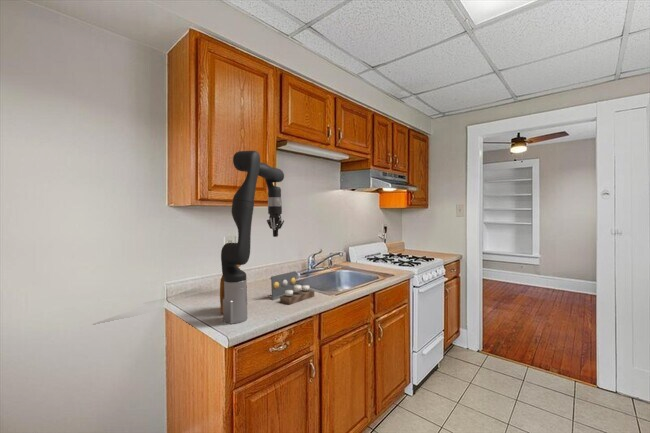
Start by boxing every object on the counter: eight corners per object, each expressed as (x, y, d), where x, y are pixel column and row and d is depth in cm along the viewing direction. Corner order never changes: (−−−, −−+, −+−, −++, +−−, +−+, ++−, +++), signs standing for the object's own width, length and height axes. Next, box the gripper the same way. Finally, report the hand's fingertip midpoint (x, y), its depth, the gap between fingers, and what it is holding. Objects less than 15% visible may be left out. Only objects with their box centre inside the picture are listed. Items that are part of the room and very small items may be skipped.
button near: (288, 296, 154) (288, 292, 153) (283, 295, 156) (283, 291, 156) (294, 294, 157) (294, 290, 156) (289, 293, 159) (289, 289, 159)
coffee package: (250, 307, 149) (249, 262, 148) (235, 316, 137) (234, 267, 136) (233, 305, 152) (232, 261, 151) (217, 314, 140) (215, 266, 140)
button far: (305, 291, 163) (305, 287, 162) (300, 289, 165) (300, 286, 165) (311, 289, 166) (310, 285, 165) (305, 288, 168) (305, 284, 168)
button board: (289, 304, 152) (289, 298, 152) (280, 302, 157) (280, 296, 156) (314, 296, 165) (314, 290, 165) (305, 294, 170) (305, 288, 170)
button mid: (297, 291, 158) (297, 287, 158) (292, 289, 161) (292, 286, 161) (303, 289, 161) (302, 285, 161) (297, 288, 164) (297, 284, 164)
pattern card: (273, 300, 160) (272, 277, 160) (269, 299, 162) (269, 276, 162) (298, 292, 174) (297, 271, 173) (294, 291, 176) (294, 270, 175)
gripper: (262, 205, 173) (262, 236, 173) (277, 205, 164) (277, 237, 164) (272, 205, 178) (273, 235, 179) (287, 205, 169) (288, 236, 170)
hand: (275, 236), depth 171 cm, fingers closed
